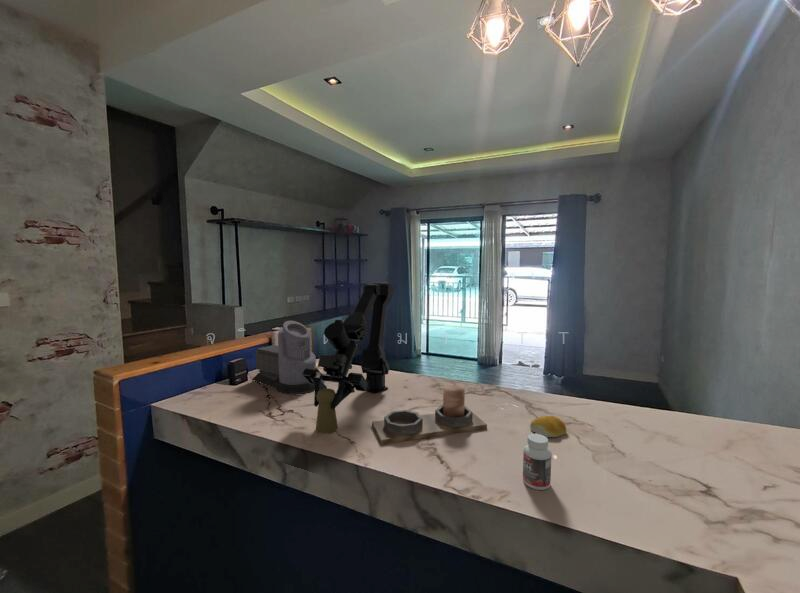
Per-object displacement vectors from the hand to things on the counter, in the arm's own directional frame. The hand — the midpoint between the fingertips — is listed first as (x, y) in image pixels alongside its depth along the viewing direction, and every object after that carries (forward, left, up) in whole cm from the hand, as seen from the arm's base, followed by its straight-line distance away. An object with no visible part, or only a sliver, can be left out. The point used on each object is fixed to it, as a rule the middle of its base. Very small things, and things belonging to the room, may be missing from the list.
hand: (323, 407), depth 98 cm
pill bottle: (-18, +51, -7) cm, 55 cm away
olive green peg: (-1, -1, -7) cm, 7 cm away
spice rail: (-22, +19, -7) cm, 30 cm away
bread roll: (-43, +43, -7) cm, 61 cm away
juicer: (-12, -43, -7) cm, 45 cm away
